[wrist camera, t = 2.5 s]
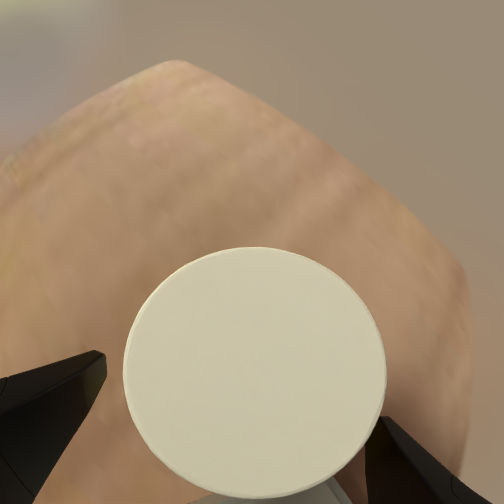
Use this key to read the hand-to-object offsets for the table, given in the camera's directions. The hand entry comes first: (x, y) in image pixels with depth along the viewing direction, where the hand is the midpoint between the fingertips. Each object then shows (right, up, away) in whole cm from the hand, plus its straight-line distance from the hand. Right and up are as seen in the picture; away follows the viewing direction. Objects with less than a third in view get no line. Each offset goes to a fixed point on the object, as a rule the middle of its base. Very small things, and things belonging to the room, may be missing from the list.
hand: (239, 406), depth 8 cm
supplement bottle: (-1, -4, +8) cm, 9 cm away
